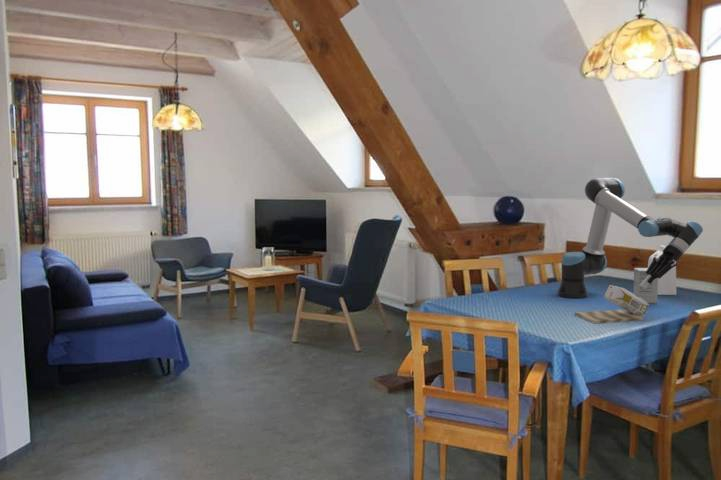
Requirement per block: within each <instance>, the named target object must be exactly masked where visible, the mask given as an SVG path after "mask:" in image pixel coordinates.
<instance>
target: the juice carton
mask: <svg viewBox="0 0 721 480" xmlns="http://www.w3.org/2000/svg"><path fill="white" fill-rule="evenodd" d="M603 297H604V298H605V299H606V300H608V302H610V303H612V304H614V305H616V306H617V307H619V308H620V309H621V310H624V311H627V312H629V313H632V314H635V315H638V316H641V317H644V316H645V315H646V312H647V310H648V309H649V307H650V303H647V302H646V301H645V300H643V299H641V298H640V297H638V296H636V295H635V294H633V292H631V291H630V290H628V289H626V288H624V287H622V286H621V287H620V286H616V285H611V284H610V285H608V287H607V290H606V291H605V294H604V295H603Z"/></svg>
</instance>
